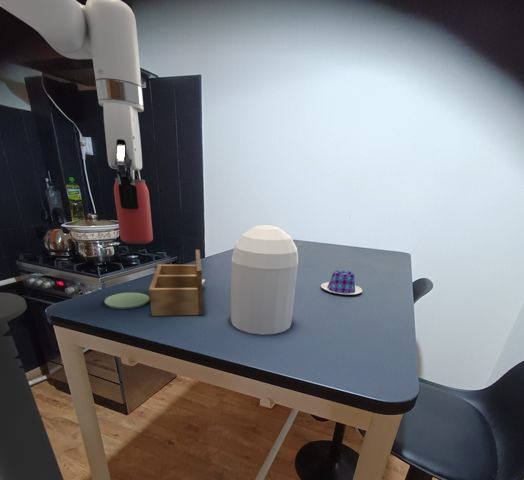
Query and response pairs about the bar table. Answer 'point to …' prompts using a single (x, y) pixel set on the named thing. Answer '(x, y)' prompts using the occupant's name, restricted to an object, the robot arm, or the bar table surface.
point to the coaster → (126, 300)
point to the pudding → (342, 283)
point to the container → (263, 280)
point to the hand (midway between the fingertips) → (133, 206)
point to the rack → (177, 289)
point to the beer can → (135, 216)
